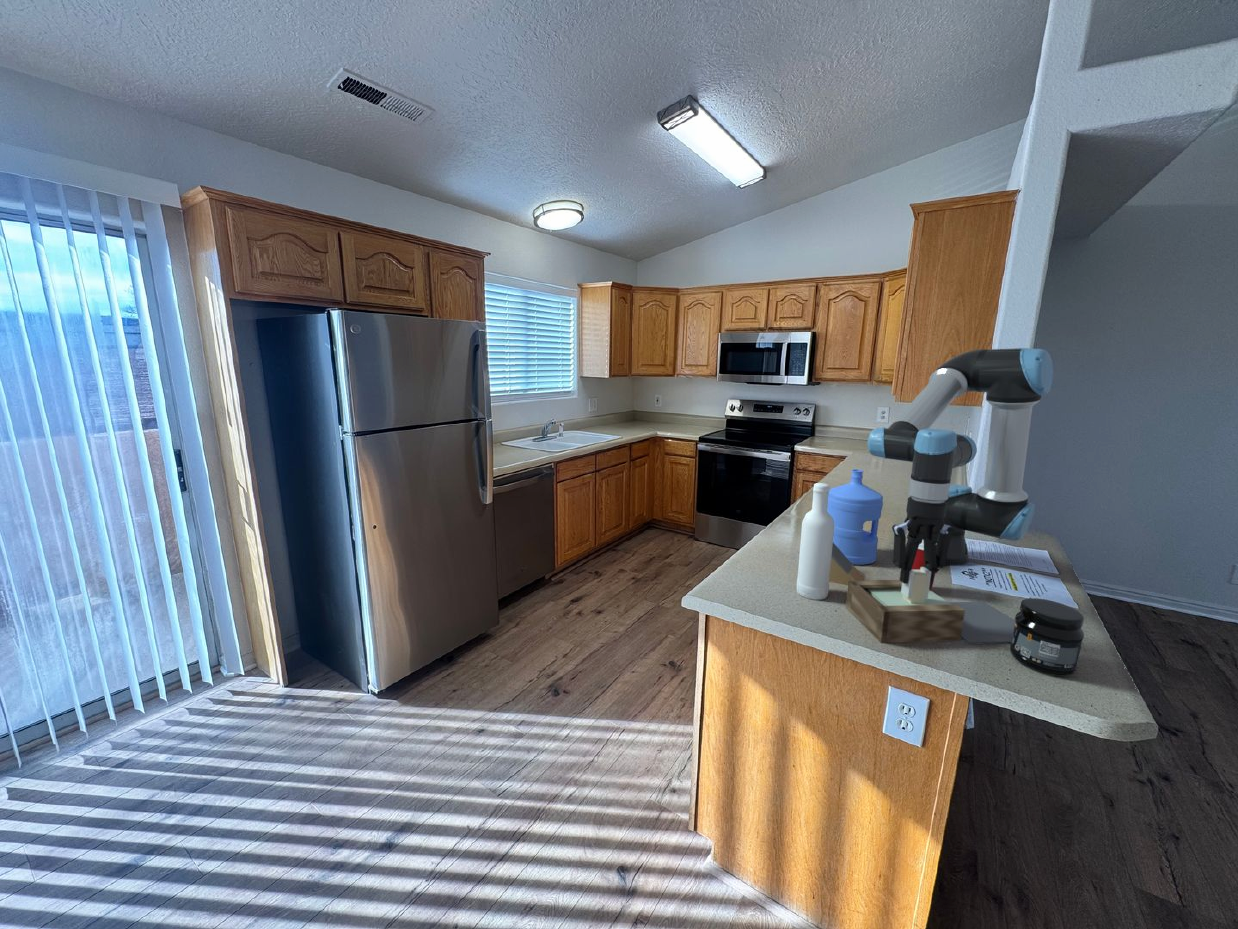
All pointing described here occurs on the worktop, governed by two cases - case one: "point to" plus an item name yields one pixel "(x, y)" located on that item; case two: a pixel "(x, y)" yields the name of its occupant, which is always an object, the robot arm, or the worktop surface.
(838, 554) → the sandwich container
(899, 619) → the walnut box
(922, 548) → the paper cup
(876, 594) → the cover plate
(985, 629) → the charcoal mat
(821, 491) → the bottle
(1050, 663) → the supplement container
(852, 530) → the water jug
